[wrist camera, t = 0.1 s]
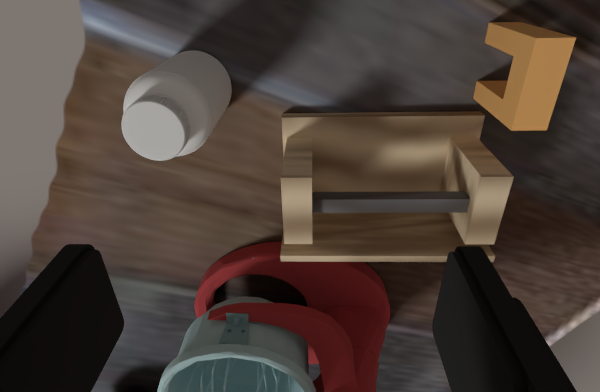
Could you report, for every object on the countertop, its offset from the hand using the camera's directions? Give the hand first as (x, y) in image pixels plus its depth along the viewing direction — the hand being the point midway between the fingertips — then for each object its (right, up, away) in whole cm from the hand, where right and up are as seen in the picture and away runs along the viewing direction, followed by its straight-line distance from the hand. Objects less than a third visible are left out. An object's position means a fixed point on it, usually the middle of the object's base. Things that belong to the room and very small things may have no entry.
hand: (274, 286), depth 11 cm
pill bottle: (-11, +15, +34) cm, 39 cm away
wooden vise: (+10, +7, +38) cm, 40 cm away
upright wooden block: (+22, +17, +32) cm, 42 cm away
